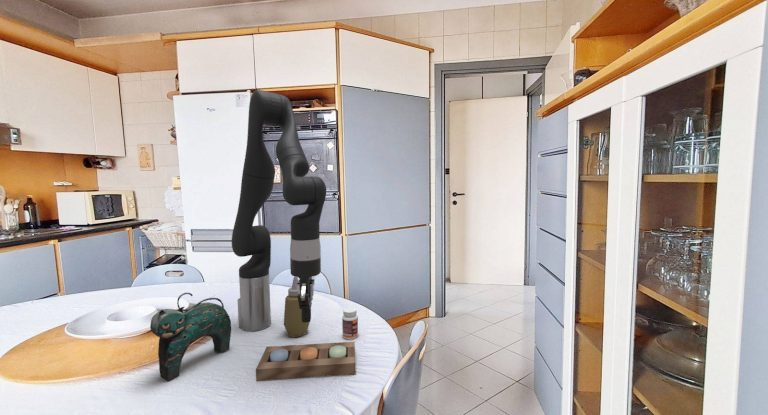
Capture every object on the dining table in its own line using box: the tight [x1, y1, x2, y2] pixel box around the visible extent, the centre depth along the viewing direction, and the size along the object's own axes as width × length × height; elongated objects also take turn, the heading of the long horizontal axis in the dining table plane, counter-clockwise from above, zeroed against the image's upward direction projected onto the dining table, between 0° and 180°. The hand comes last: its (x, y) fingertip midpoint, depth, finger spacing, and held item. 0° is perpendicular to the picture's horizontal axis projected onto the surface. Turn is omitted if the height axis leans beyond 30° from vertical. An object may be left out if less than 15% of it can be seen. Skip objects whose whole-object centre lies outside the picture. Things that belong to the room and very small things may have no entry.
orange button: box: [300, 347, 318, 360], centre depth 89 cm, size 4×4×3 cm
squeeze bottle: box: [283, 276, 311, 338], centre depth 107 cm, size 8×8×18 cm
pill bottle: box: [341, 307, 359, 340], centre depth 105 cm, size 5×5×8 cm
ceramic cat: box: [150, 292, 232, 382], centre depth 90 cm, size 20×6×20 cm, turn 151°
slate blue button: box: [270, 349, 288, 362], centre depth 88 cm, size 4×4×3 cm
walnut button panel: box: [255, 341, 357, 382], centre depth 89 cm, size 24×11×3 cm, turn 96°
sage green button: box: [329, 345, 346, 358], centre depth 90 cm, size 4×4×3 cm
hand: (306, 321), depth 88 cm, fingers closed
